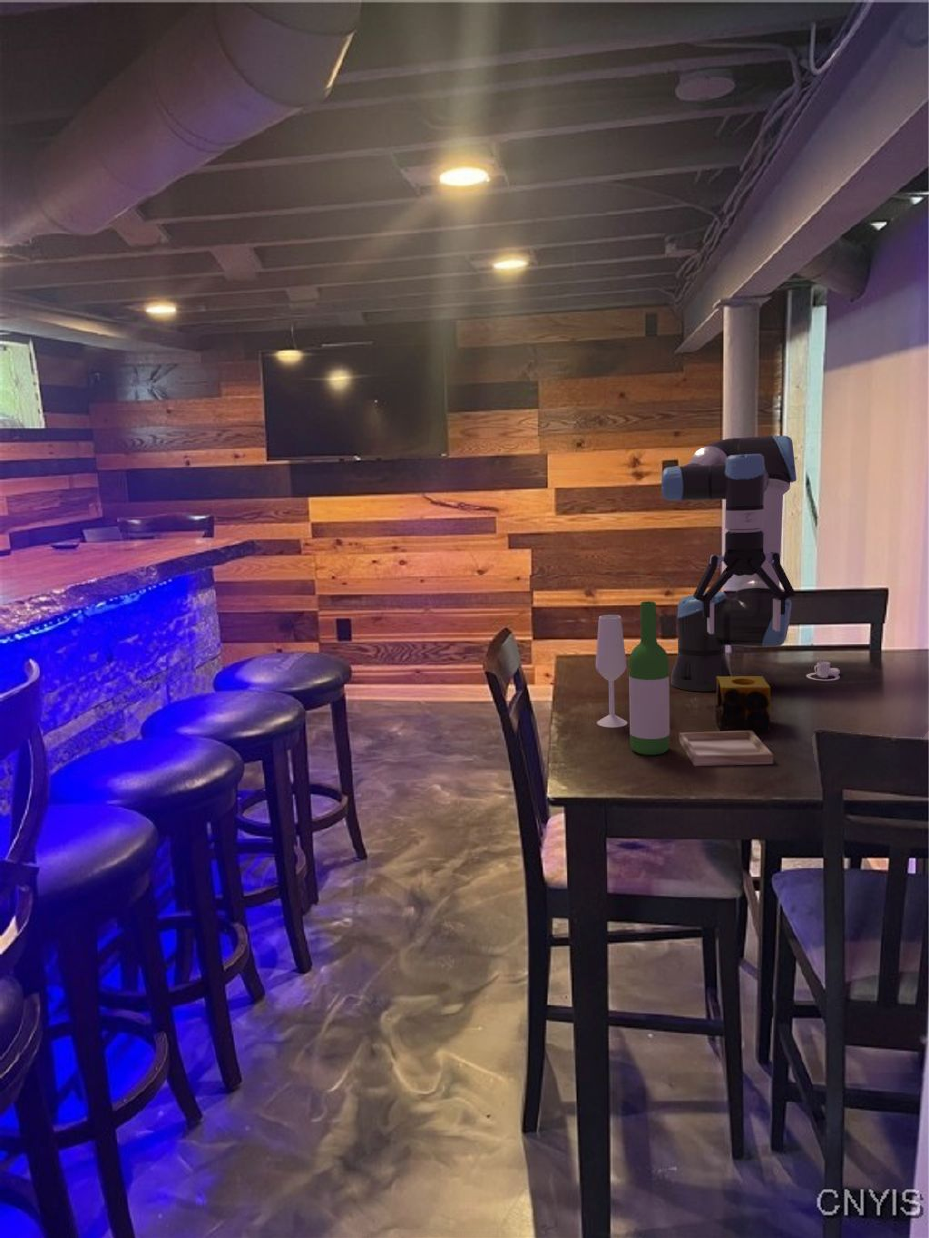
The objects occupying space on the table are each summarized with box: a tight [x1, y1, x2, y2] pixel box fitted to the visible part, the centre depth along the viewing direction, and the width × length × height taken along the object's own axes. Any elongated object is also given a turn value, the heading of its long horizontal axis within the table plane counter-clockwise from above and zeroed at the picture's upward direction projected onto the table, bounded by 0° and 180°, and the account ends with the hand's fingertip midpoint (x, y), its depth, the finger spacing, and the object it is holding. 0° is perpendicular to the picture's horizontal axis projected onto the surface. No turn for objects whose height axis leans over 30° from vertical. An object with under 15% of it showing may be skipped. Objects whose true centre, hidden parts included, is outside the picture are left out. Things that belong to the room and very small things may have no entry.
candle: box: [715, 675, 771, 734], centre depth 181 cm, size 10×10×10 cm
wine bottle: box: [628, 601, 671, 756], centre depth 167 cm, size 8×8×30 cm
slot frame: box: [678, 730, 774, 767], centre depth 166 cm, size 15×15×2 cm
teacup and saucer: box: [805, 661, 841, 682], centre depth 217 cm, size 9×8×4 cm
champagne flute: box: [595, 614, 628, 728], centre depth 186 cm, size 7×7×24 cm
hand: (743, 631), depth 178 cm, fingers open, 13 cm apart
